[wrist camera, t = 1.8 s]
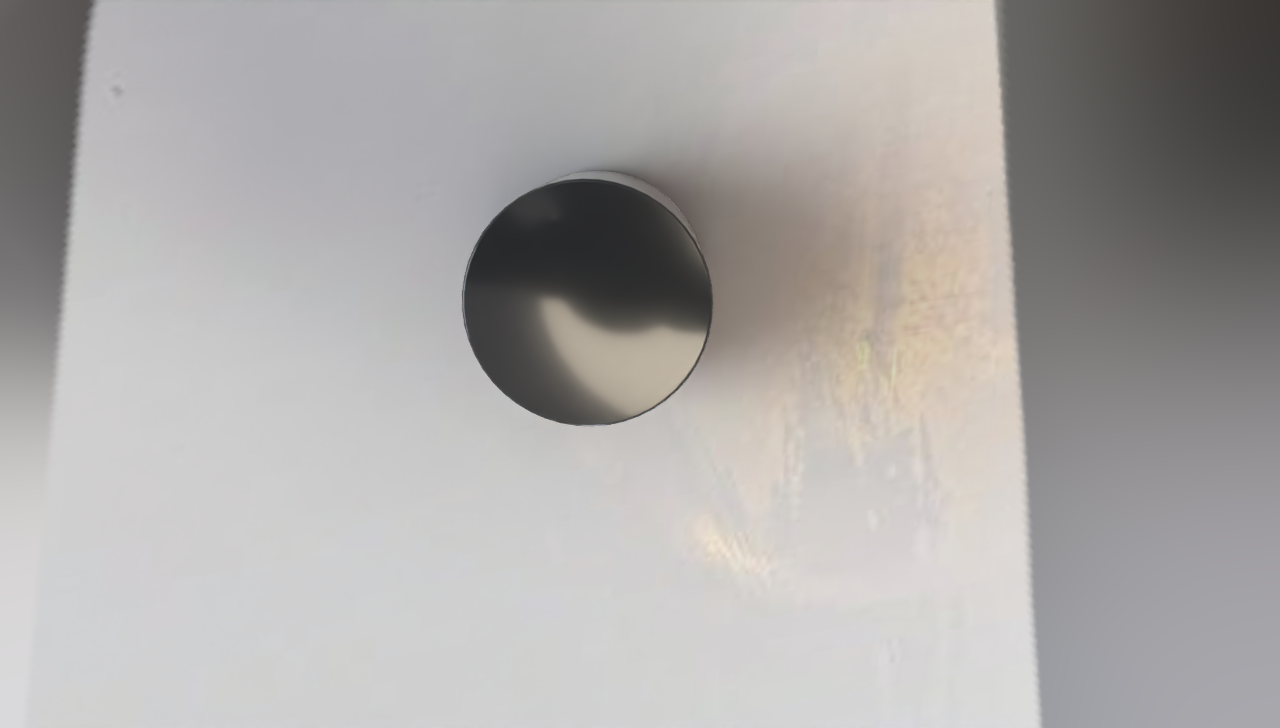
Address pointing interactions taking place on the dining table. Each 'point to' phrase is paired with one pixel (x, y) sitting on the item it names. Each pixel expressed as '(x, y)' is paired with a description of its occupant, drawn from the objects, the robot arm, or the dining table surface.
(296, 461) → the dining table surface
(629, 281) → the dark grey puck
